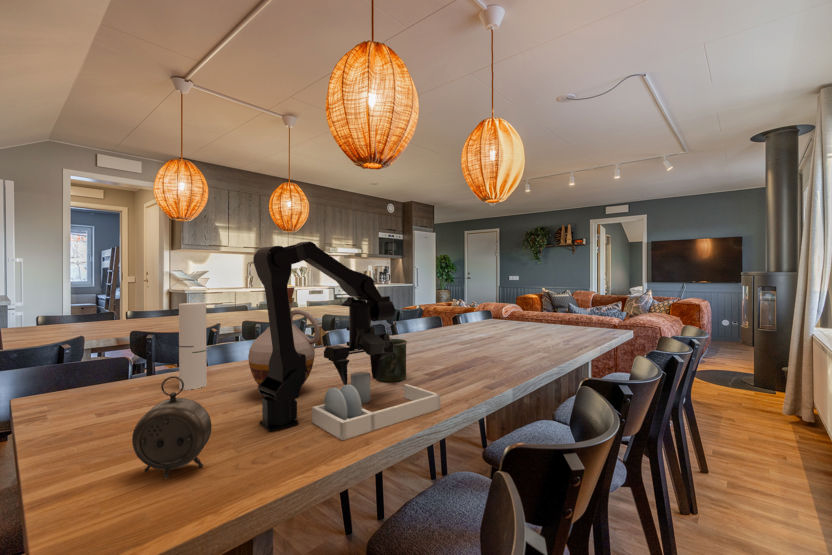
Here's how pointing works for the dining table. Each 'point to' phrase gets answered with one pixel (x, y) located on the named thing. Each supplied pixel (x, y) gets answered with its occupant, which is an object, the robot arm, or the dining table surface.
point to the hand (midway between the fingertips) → (360, 381)
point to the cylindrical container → (192, 345)
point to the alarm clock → (172, 433)
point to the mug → (394, 363)
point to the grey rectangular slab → (362, 385)
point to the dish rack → (352, 420)
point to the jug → (263, 348)
